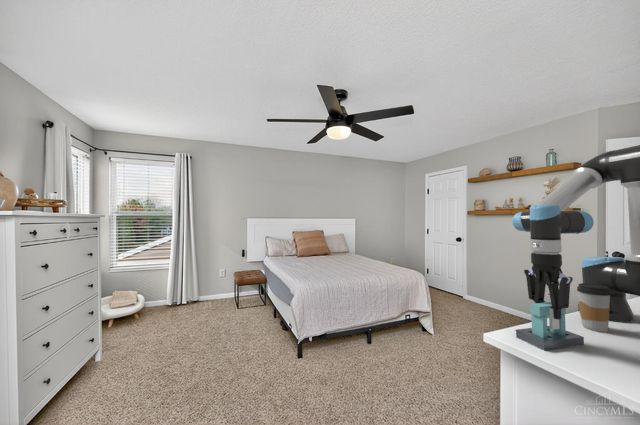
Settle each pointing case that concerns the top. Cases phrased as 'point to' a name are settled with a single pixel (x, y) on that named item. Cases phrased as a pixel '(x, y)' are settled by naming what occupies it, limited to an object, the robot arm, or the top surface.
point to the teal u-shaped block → (545, 320)
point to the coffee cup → (594, 306)
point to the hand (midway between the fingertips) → (548, 326)
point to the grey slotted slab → (550, 339)
